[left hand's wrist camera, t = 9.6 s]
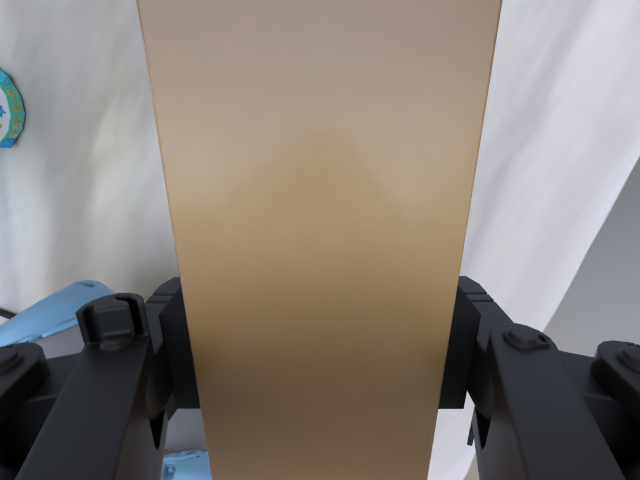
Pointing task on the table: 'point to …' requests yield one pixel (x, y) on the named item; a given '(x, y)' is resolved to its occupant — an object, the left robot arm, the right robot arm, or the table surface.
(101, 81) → the table surface
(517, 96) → the table surface
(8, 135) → the decorative hourglass
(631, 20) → the table surface
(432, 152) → the bar
